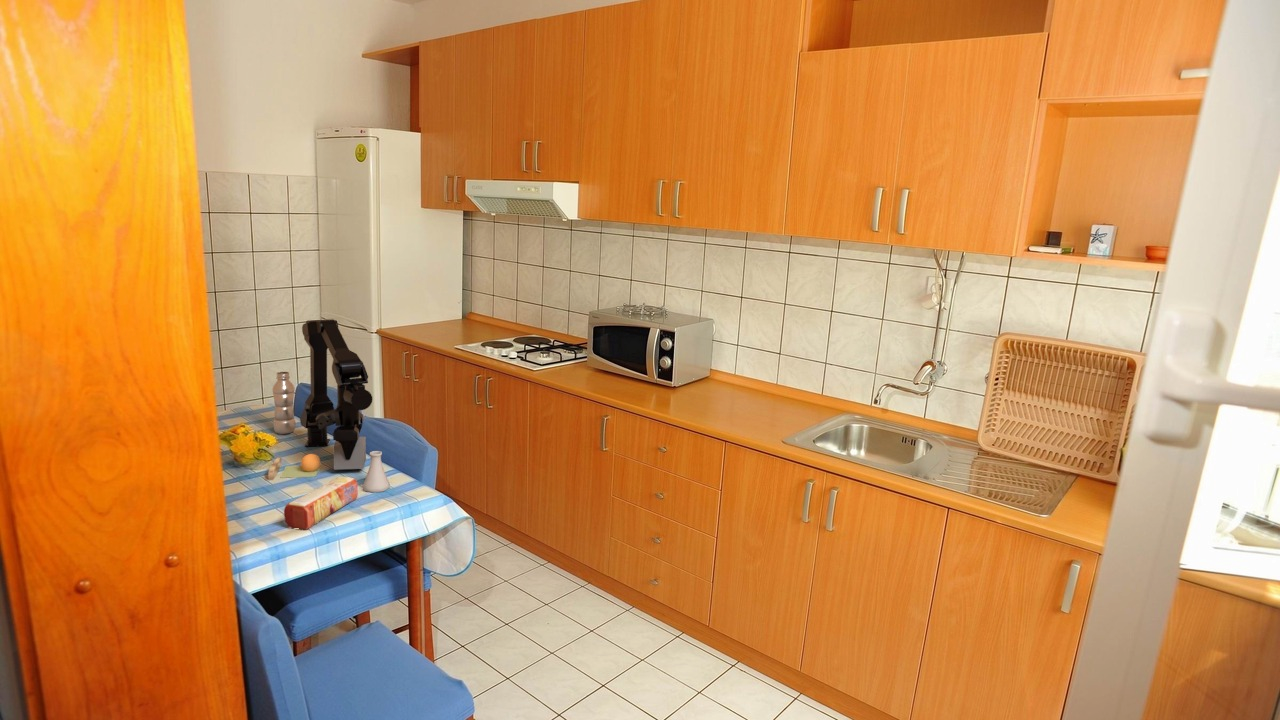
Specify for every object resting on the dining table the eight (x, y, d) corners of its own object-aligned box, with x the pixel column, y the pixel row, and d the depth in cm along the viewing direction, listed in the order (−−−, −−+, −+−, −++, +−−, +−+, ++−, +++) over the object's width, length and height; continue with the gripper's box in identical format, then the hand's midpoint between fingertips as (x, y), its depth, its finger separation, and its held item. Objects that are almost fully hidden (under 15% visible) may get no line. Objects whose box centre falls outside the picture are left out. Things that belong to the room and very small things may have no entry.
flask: (384, 494, 193) (384, 458, 191) (357, 492, 193) (356, 456, 191) (394, 484, 200) (394, 449, 198) (367, 482, 200) (367, 447, 198)
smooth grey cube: (337, 460, 211) (337, 437, 210) (365, 459, 213) (365, 436, 212) (334, 469, 204) (333, 445, 202) (363, 468, 206) (363, 444, 204)
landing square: (286, 466, 208) (286, 466, 208) (320, 465, 211) (320, 464, 211) (280, 477, 200) (280, 477, 200) (315, 476, 202) (315, 475, 202)
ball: (314, 448, 207) (325, 462, 209) (298, 457, 206) (309, 471, 208) (312, 453, 203) (322, 468, 204) (295, 463, 202) (306, 477, 203)
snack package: (337, 496, 190) (337, 472, 189) (360, 500, 189) (360, 475, 188) (282, 529, 170) (281, 501, 168) (308, 533, 168) (307, 505, 167)
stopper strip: (277, 465, 209) (277, 456, 208) (281, 465, 209) (281, 456, 209) (268, 480, 198) (268, 471, 197) (272, 480, 198) (272, 471, 197)
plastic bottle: (269, 434, 235) (266, 374, 231) (282, 429, 241) (280, 369, 238) (287, 436, 234) (285, 376, 230) (300, 431, 240) (298, 371, 237)
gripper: (322, 393, 211) (323, 445, 214) (312, 411, 194) (313, 467, 197) (363, 393, 214) (363, 444, 217) (357, 410, 197) (357, 465, 200)
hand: (349, 454), depth 208 cm, fingers closed on smooth grey cube, 8 cm apart
